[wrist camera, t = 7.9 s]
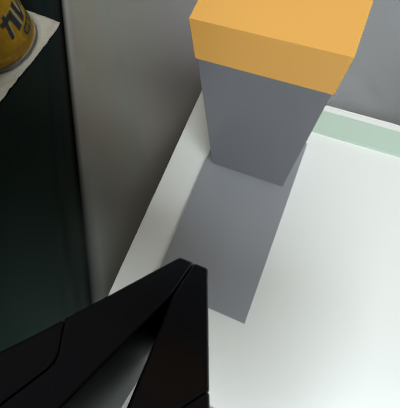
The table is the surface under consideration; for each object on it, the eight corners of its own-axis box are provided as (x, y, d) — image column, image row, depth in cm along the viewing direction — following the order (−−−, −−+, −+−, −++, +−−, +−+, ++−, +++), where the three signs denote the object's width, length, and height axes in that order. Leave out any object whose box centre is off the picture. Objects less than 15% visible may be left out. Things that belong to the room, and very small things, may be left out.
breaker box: (610, 576, 12) (746, 680, 9) (112, 332, 16) (84, 343, 13) (633, 230, 15) (740, 215, 12) (212, 104, 19) (209, 70, 16)
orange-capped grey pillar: (283, 187, 14) (354, 57, 6) (211, 162, 14) (189, 17, 6) (299, 142, 14) (383, -33, 6) (229, 121, 15) (228, -60, 7)
